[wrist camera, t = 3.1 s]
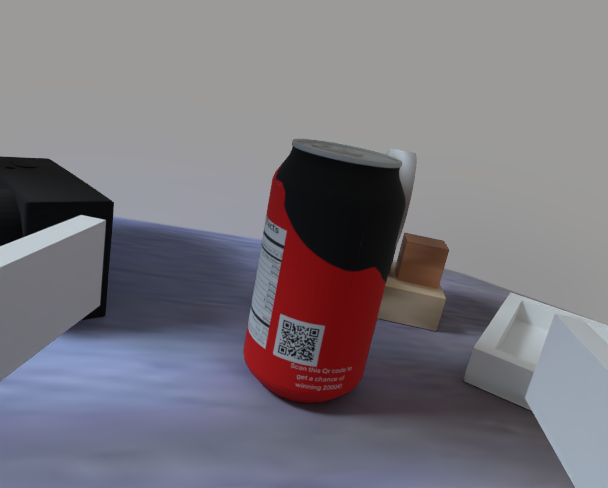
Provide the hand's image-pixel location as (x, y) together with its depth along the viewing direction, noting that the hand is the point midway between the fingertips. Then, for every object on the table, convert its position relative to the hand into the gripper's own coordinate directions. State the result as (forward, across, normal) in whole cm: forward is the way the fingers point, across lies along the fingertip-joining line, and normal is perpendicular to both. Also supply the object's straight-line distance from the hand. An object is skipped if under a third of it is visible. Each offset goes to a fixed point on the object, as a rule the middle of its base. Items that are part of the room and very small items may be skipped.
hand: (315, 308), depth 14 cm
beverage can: (+10, 0, -8) cm, 13 cm away
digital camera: (+13, -18, -8) cm, 23 cm away
